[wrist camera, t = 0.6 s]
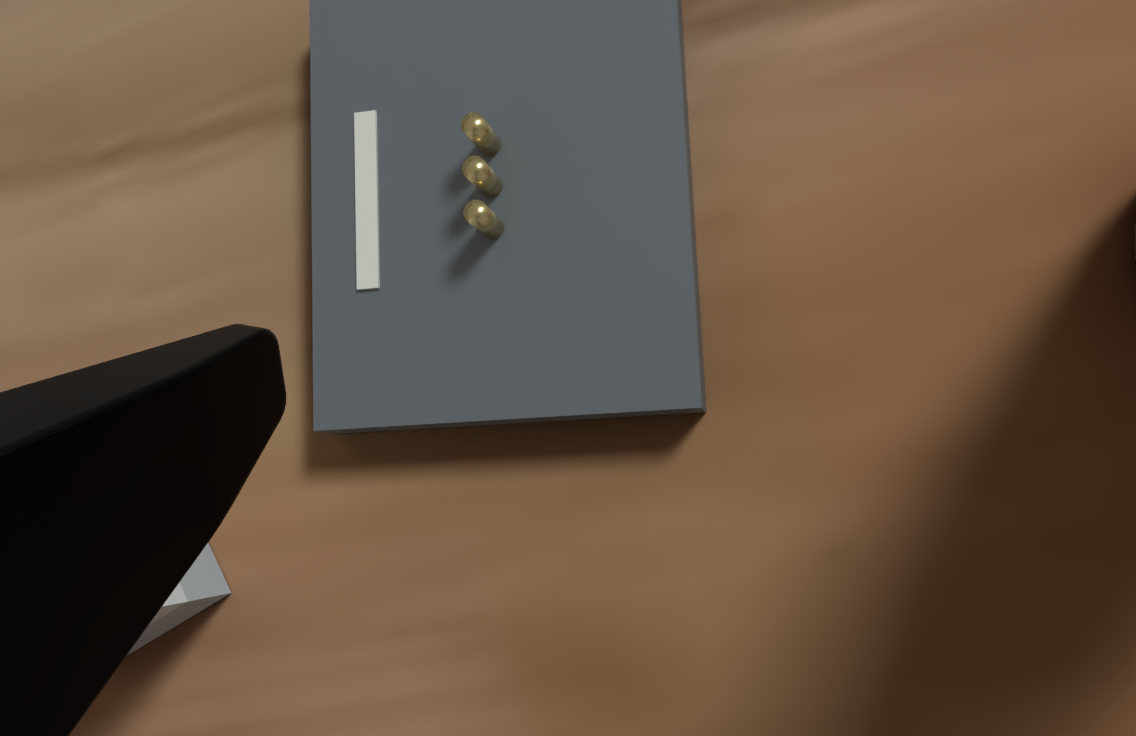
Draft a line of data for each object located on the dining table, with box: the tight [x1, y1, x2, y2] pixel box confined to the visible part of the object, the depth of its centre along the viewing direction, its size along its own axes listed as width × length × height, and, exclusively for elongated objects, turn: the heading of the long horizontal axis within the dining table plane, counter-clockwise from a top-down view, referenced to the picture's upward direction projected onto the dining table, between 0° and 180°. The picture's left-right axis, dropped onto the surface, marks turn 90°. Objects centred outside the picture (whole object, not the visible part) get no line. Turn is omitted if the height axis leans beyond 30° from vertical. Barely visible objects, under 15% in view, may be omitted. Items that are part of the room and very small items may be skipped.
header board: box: [310, 0, 706, 434], centre depth 25 cm, size 12×10×3 cm
